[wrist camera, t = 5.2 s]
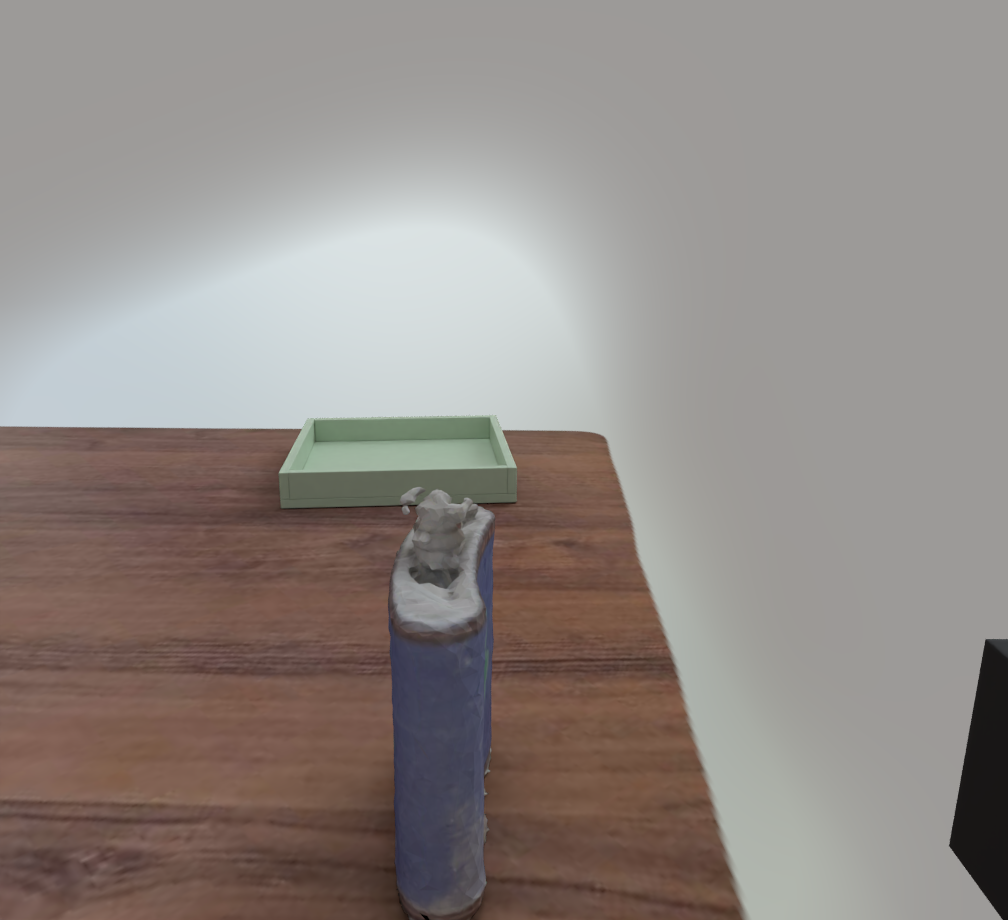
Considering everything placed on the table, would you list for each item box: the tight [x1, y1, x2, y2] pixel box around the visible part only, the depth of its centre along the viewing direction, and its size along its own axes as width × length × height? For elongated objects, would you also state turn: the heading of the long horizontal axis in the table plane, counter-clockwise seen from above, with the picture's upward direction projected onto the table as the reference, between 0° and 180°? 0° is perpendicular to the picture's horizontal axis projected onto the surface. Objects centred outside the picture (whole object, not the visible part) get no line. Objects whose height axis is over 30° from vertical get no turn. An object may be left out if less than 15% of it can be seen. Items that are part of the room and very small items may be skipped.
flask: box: [388, 487, 495, 920], centre depth 26 cm, size 9×3×11 cm, turn 179°
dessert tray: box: [279, 415, 517, 508], centre depth 63 cm, size 15×15×2 cm
